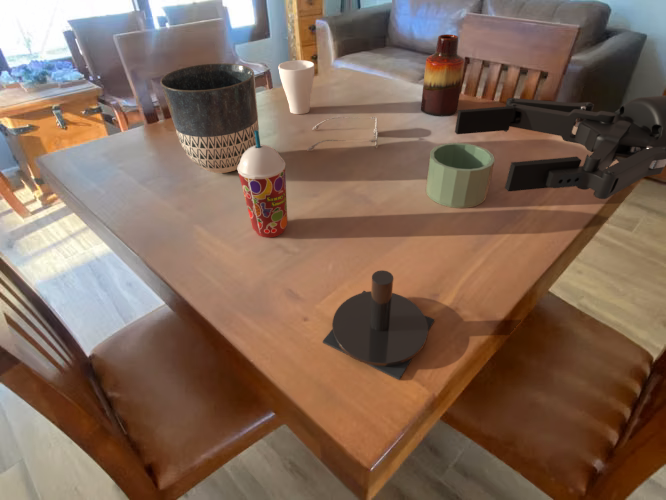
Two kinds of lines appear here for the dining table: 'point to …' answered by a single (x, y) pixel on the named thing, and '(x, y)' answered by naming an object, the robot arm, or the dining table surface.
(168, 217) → the dining table surface
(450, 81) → the vase
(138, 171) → the dining table surface
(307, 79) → the cup
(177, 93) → the planter
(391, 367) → the mat
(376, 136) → the eyeglasses
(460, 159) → the pot
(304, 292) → the dining table surface
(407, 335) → the lid
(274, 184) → the smoothie
